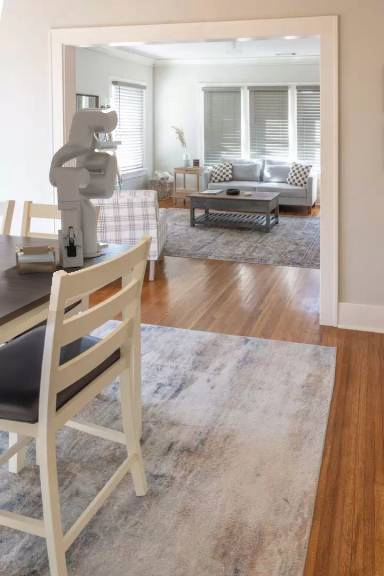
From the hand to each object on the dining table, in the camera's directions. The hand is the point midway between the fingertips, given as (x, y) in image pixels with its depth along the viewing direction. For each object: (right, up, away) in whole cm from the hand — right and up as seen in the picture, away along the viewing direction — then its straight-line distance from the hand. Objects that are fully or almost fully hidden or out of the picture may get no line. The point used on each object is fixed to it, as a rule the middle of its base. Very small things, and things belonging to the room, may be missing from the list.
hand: (70, 253), depth 206 cm
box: (-12, -5, -3) cm, 13 cm away
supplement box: (0, -4, +1) cm, 4 cm away
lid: (-8, -2, -16) cm, 18 cm away
